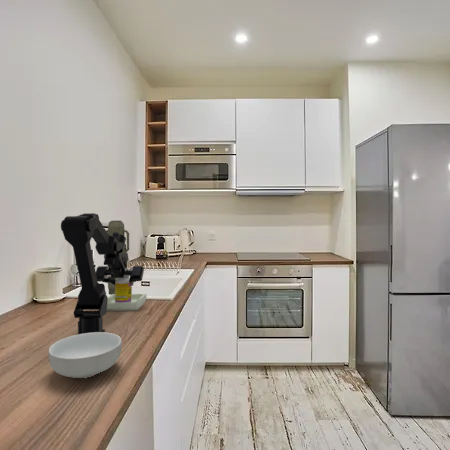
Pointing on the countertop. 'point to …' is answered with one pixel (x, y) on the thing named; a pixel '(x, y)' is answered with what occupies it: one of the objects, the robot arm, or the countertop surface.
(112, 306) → the tray
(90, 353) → the cereal bowl
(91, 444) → the countertop surface
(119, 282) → the supplement bottle
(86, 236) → the robot arm
